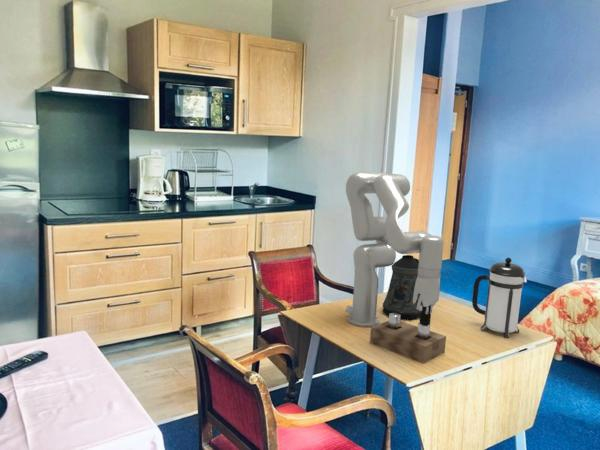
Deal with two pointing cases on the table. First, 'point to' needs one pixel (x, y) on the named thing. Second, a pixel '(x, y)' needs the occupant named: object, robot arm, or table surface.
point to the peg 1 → (394, 321)
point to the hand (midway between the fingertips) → (424, 323)
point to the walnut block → (408, 341)
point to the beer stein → (402, 289)
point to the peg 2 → (423, 331)
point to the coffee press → (501, 297)
